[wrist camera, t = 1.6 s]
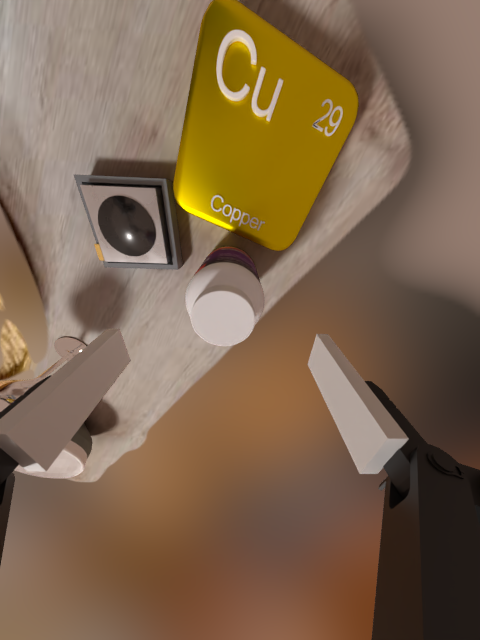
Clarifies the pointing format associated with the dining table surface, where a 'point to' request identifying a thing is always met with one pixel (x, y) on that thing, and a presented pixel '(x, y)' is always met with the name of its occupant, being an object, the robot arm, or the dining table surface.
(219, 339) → the pill bottle
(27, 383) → the wineglass
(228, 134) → the element tile
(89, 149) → the dining table surface
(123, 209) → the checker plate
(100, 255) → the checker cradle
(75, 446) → the bowl
